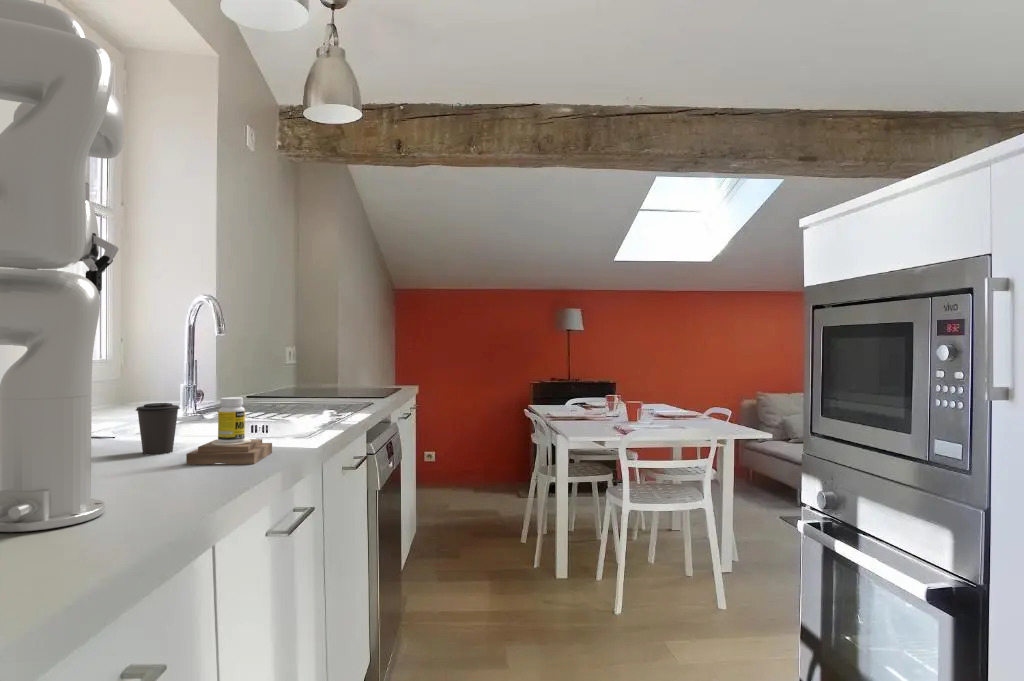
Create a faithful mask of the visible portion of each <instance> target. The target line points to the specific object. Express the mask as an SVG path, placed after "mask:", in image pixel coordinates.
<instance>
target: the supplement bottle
mask: <svg viewBox="0 0 1024 681" xmlns="http://www.w3.org/2000/svg"><path fill="white" fill-rule="evenodd" d="M243 405H244V398H243V397H242V396H241V397H238V396H235V397H234V396H233V397H232V396H229V397H220V406H221V407H220V408H219V409H218V412H217V413H218V414H217V417H218V418H217V427H218V430H217V440H218V442H220V443H237V442H242V441H244V439H246V438H245V436H246V433H245V432H246V431H245V430H246V427H245V425H246V424H245V423H246V421H245V420H246V409H245V407H243Z"/></svg>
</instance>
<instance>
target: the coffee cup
mask: <svg viewBox="0 0 1024 681" xmlns="http://www.w3.org/2000/svg"><path fill="white" fill-rule="evenodd" d="M180 409H181V407H180V405H177V404H173V403H170V402H153V403H145V404H143V405H141V406H137V407H136V408H135V411H136V412H137V416H138V417H137V418H138V424H139V432H140V439H141V442H140V443H141V448H142V454H143V453H145V454H144V455H146V454H158V455H165V454H164V453H167V454H171V453H173V451H174V446H175V435H176V427H177V421H178V411H179V410H180ZM170 452H171V453H170Z"/></svg>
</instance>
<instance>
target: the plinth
mask: <svg viewBox="0 0 1024 681" xmlns="http://www.w3.org/2000/svg"><path fill="white" fill-rule="evenodd" d="M271 454H273V443H272V442H263V438H260V439H259V438H256V439H255V438H251V439H249V438H245V439H244V441H242V442H237V443H220V442H218V439H214V440H212V441H209V442H207V443H204V444H202V445H200V446H198V448H197V449H195V450H192V451H190V452H188V453H186V455H185V456H186V459H185V462H186V464H212V465H215V464H214V463H226V464H225V465H255V464H256V463H258V462H259V461H261V460H263V459H265V458H266V457H267V456H269V455H271Z"/></svg>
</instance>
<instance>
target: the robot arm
mask: <svg viewBox="0 0 1024 681" xmlns="http://www.w3.org/2000/svg"><path fill="white" fill-rule="evenodd" d="M113 71H114V70H113V64H112V61H111V58H110V56H109V54H108V52H107V51H106V50H105V49H104V48H103V47H102V46H100V45H99V44H98V43H96V42H94V41H93V40H90V39H88V38H87V37H86V34H85V32H84V29H83V28H82V27H81V25H80V24H79V22H78V21H76V20H75V19H74V18H73V17H72V16H71V15H69V14H68V13H67V12H65V11H63V10H61V9H59V8H57V7H55V6H53V5H49V4H46V3H42V2H39V1H34V0H0V100H2V101H10V102H16V103H20V104H19V105H18V106H17V107H16V109H15V110H14V111H13V112H14V113H13V121H12V122H11V123H10V124H8V125H7V127H5V128H4V129H3V130H2V131H1V133H0V346H15V347H25V348H27V349H26V351H25V352H24V354H22V356H21V357H20V358H18V359H17V360H16V361H14V362H13V364H12V365H10V367H8V369H7V370H5V372H4V374H3V376H2V378H1V379H0V380H1V381H0V532H1V533H2V532H3V533H15V532H16V533H19V532H21V533H22V532H33V531H35V532H36V531H43V530H44V531H45V530H49V529H50V530H51V529H56V528H62V527H67V526H73V525H77V524H81V523H84V522H88V521H91V520H93V519H95V518H98V517H100V516H101V515H103V514H104V513H105V511H106V504H105V502H104V501H103V500H100V499H96V498H92V389H93V388H92V387H93V386H92V379H93V378H92V374H93V358H94V357H93V356H94V355H93V354H94V348H95V341H96V336H97V334H96V333H97V330H98V329H97V328H98V323H99V317H100V312H101V310H100V308H101V298H100V296H101V291H102V290H103V289H102V288H103V286H102V285H103V273H105V272H106V269H107V268H108V267H109V266H110V265H111V264H112V263H113V262H114V258H115V257H116V255H117V253H118V251H119V250H120V249H119V247H118V246H117V245H115V244H113V243H112V242H109V241H108V240H106V239H103V238H102V237H99V227H98V226H99V225H98V220H97V213H96V209H95V207H94V204H93V203H92V202H90V195H91V194H90V192H91V190H90V188H91V186H90V172H91V170H90V167H91V166H90V164H91V162H90V158H97V159H105V160H106V159H114V158H116V157H118V155H119V154H121V151H122V149H123V146H124V140H125V117H124V112H123V109H122V106H121V104H120V102H119V100H118V99H117V97H116V96H115V95H114V94H113V93H112V88H113V77H114V75H113V74H114V72H113ZM100 248H102V249H103V250H104V251H103V252H104V253H103V255H102V256H101V257H99V255H100ZM98 257H99V258H98ZM78 262H82V263H83V264H85V266H86V267H87V268H88V270H86V271H85V276H83V275H81V274H77V273H73V272H69V271H65V270H58V269H66V268H70V267H72V266H74V265H76V264H78Z"/></svg>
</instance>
